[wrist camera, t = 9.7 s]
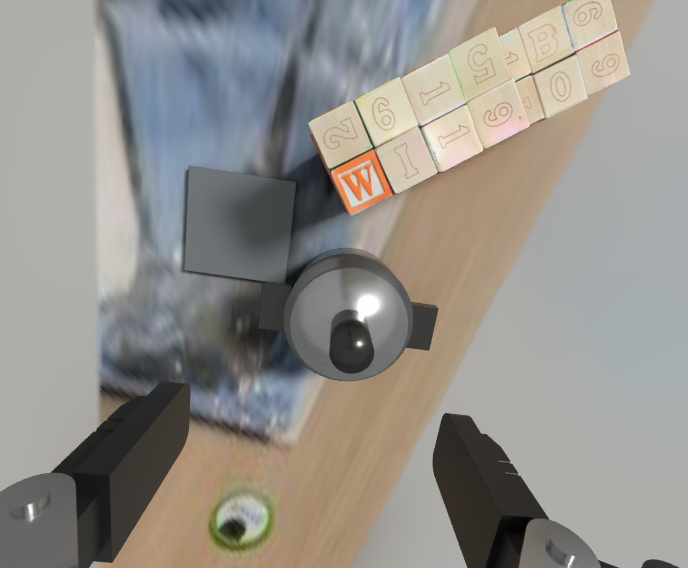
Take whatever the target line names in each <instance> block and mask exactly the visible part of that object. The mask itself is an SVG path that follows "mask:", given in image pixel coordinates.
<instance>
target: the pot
mask: <svg viewBox="0 0 688 568" xmlns="http://www.w3.org/2000/svg"><path fill="white" fill-rule="evenodd" d="M343 266H354V267H361V268H366V269H368V270H371V271H374V272H376V273H377V274H379V275H381V276H382V277H384V278H385V279H386V280H387V281H388V282H390V283H391V284H392V286H393V287H394V288H395V289H396V291H397V292H398V294H399V295H400V297H401V299H402V300H403V303H404V305H405V308H406V311H407V317H408V332H407V337H406V340H405V343H404V346H403V348H402V350H401V352H400V353H399V355H398V356H397V357H396V359H395V360H394V361H393V362H392V363H391V364H390V365H389V366H388V367H390V366H391V365H392V364H393V363H394V362H395V361H396V360H397V359H398V358H399V357H400V355H401V354H402V353H403V351H404V350H405V348H413V349H421V350H428V351H429V349H430V345H431V340H432V335H433V331H434V326H435V322H436V317H437V313H438V308H437V307H436V306H435V305H429V304H422V303H415V302H410V298H409V296H408V294H407V292H406V290H405V288H404V287H403V285H402V284H401V283H400V281H399V280H398V279H397V278H396V277H395V275H394V274H393V273H392V272H391V271H390V270H389V268H388V267H387V266H386V265H385V264H384V263H383V262H382V261H381V260H380V259H378V258H377V257H376V256H374V255H372V254H370V253H368V252H366V251H363V250H360V249H355V248H339V249H333V250H330V251H327V252H325V253H323V254H321V255H319V256H317V257H316V258H314V259H313V260H312V261H311V262H310V263H309V264H308V265H307V266H306V267H305V268H304V270H303V271H302V273H301V274H300V276H299V278H298V280H297V281H296V283H295V285H294V287H293V289H292V285H285V284H278V283H271V282H264V283H263V284H262V294H261V304H260V315H259V325H258V328H261V329H268V330H276V331H284V332H285V335H286V338H287V341H288V344H289V346H290V348H291V349H292V351H293V353H294V354H295V356H296V357H297V358H298V359H299V360H300V361H301V362H302V363H303V364H304V365H305V366H306V367H307V368H309V369H310V370H312V371H313V372H315V373H316V374H319V375H321V376H323V377H326V378H329V379H333V378H330V377H327V376H324V375H322V374H320V373H318V372H317V371H315V370H313V369H312V368H311V367H310V366H308V365H307V364H306V363H305V362H304V360H303V359H302V358H301V357H300V355H299V354H298V352H297V350H296V348H295V346H294V344H293V341H292V337H291V331H290V319H291V313H292V310H293V307H294V304H295V302H296V300H297V298H298V296H299V294H300V292H301V291H302V289H303V288H304V287H305V286H306V285H307V284H308V282H310V281H311V280H312V279H313V278H314V277H316V276H317V275H319V274H321V273H323V272H325V271H327V270H330V269H333V268H337V267H343ZM388 367H386V368H385V369H384V370H386V369H387V368H388ZM384 370H382V371H384ZM382 371H381V372H382ZM381 372H379V373H381ZM379 373H377V374H379ZM377 374H375V375H377ZM375 375H373V376H375ZM371 377H372V376H371ZM368 378H369V377H368ZM364 379H366V378H364ZM333 380H338V379H333ZM359 380H362V379H359ZM339 381H347V380H339ZM349 381H357V380H349Z"/></svg>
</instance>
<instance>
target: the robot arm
mask: <svg viewBox="0 0 688 568" xmlns="http://www.w3.org/2000/svg"><path fill="white" fill-rule="evenodd" d="M189 415H190V386H189V384H186V383H177V382H168V381H162V382H160V383H159V384H158V385H157V386H156V387H155V388H154V389H153V390H152V391H151V392H150V393H149V394H148V396H147V397H145V396H138V397H136V398H134V399H133V400H131V401H129V402H127V403H125V404H123V405H121V406H120V407H119V408H118V409H117V410H116V411H115V412H114V413H113V414H112V415H111V416H110V417H109V418H108V420H107V421H104V422H103V423H102V424H101V425H100V426H99V427H98V428H97V430H96V432H93V433H92V434H91V435H90V436H89V437H88V438H86V439H85V441H83V442H82V443H81V444H80V445H79V446H78V447H77V448H76V449H75V450H74V451H73V452H72V453H71V454H70V455H69V456H68V457H66V458H65V459H64V460H63V461H62V462H61V463H60V464H59V465H58V466H57V467H56V468H55V469H54V470H53V471H52V472H51V473H45V474H40V475H36V476H32V477H29V478H27V479H24V480H22V481H19V482H17V483H15V484H13V485H11V486H9V487H8V488H6V489H4V490H3V491H1V492H0V568H89V567H90V565H91V564H92V563H93V561H97V562H110V563H112V562H113V561H114V559H115V558H116V556H117V554H118V553H119V551H120V550H121V548H122V546H123V545H124V543H125V541H126V540H127V538H128V537H129V535H130V533H131V532H132V530H133V529H134V527H135V525H136V524H137V522H138V520H139V519H140V517H141V516H142V514H143V512H144V511H145V509H146V508H147V506H148V504H149V503H150V501H151V499H152V498H153V496H154V495H155V493H156V491H157V490H158V488H159V487H160V485H161V483H162V482H163V480H164V478H165V477H166V475H167V474H168V472H169V470H170V469H171V467H172V465H173V464H174V462H175V461H176V459H177V457H178V456H179V454H180V453H181V451H182V449H183V447H184V445H185V442H186V439H187V436H188V431H189ZM433 471H434V476H435V479H436V481H437V484H438V487H439V490H440V493H441V495H442V498H443V501H444V504H445V507H446V509H447V512H448V515H449V518H450V520H451V523H452V526H453V529H454V532H455V534H456V537H457V540H458V543H459V546H460V548H461V551H462V554H463V557H464V560H465V562H466V565H467V568H618V567H615V566H612V565H610V564H607V563H605V562H602V561H600V560H598V559H597V557H596V555H595V554H594V553H593V551H592V550H591V549H590V547H589V546H588V545H587V544H586V543H585V542H584V541H583V540H582V539H581V538H580V537H579V536H578V535H576V534H575V533H574V532H572V531H571V530H570V529H568V528H566V527H564V526H563V525H561V524H559V523H557V522H554V521H551V520H549V518H548V517H547V515H546V514H545V512H544V511H543V509H542V508H541V506H540V505H539V503H538V502H537V500H536V499H535V497H534V496H533V494H532V493H531V491H530V490H529V488H528V487H527V485H526V484H525V482H524V481H523V479H522V478H521V476H518V472H517V470H516V469H515V468H514V466H513V464H510V460H509V458H508V457H507V455H506V454H505V452H504V451H503V449H502V448H501V447H500V446H499V445H498V444H497V443H495V441H493V440H492V439H491V438H490V437H489V436H488V435H487V434H481V433H480V431H479V430H478V428H477V426H476V425H475V423H474V421H473V420H472V418H471V417H470V416H466V415H458V414H449V413H445V414H444V415H443V417H442V420H441V424H440V428H439V432H438V436H437V440H436V444H435V448H434V453H433ZM641 568H678V567H677V566H674V565H672V564H670V563H667V562H664V561H660V560H653V559H652V560H647V561H645V562H644V564H643V566H642V567H641Z"/></svg>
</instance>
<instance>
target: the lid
mask: <svg viewBox="0 0 688 568" xmlns="http://www.w3.org/2000/svg"><path fill="white" fill-rule="evenodd" d="M290 331H291V337H292V341H293V344H294V346H295V348H296V350H297V352H298V354H299V355H300V357H301V358H302V359H303V360H304V362H305V363H306V364H307V365H308V366H310V367H311V368H312V369H313V370H315V371H317V372H318V373H320V374H322V375H324V376H327V377H330V378H333V379H338V380H347V381H349V380H359V379H364V378H368V377H371V376H373V375H375V374H377V373H379V372H381V371H382V370H384V369H385V368H386V367H388V366H389V365H390V364H391V363H392V362H393V361H394V360H395V359H396V357H397V356H398V355H399V353H400V352H401V350H402V348H403V346H404V343H405V340H406V337H407V332H408V317H407V311H406V308H405V305H404V303H403V300H402V299H401V297H400V295H399V294H398V292H397V291H396V289H395V288H394V287H393V286H392V284H391V283H390V282H388V281H387V280H386V279H385V278H384V277H382V276H381V275H379V274H377V273H376V272H374V271H371V270H368V269H366V268H361V267H354V266H343V267H337V268H333V269H330V270H327V271H325V272H323V273H321V274H319V275H317V276H316V277H314V278H313V279H312V280H311V281H310V282H308V284H307V285H306V286H305V287H304V288H303V289H302V291H301V292H300V294H299V296H298V298H297V300H296V302H295V304H294V307H293V310H292V313H291V319H290Z"/></svg>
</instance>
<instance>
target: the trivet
mask: <svg viewBox="0 0 688 568" xmlns="http://www.w3.org/2000/svg"><path fill="white" fill-rule="evenodd" d="M296 187H297V183H296V182H292V181H285V180H279V179H272V178H266V177H259V176H253V175H246V174H240V173H234V172H227V171H221V170H214V169H208V168H201V167H195V166H189V180H188V203H187V226H186V249H185V270H188V271H195V272H202V273H209V274H216V275H224V276H231V277H238V278H245V279H253V280H260V281H267V282H274V283H281V284H285V283H286V276H287V267H288V258H289V249H290V240H291V232H292V223H293V214H294V205H295V196H296Z"/></svg>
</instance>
